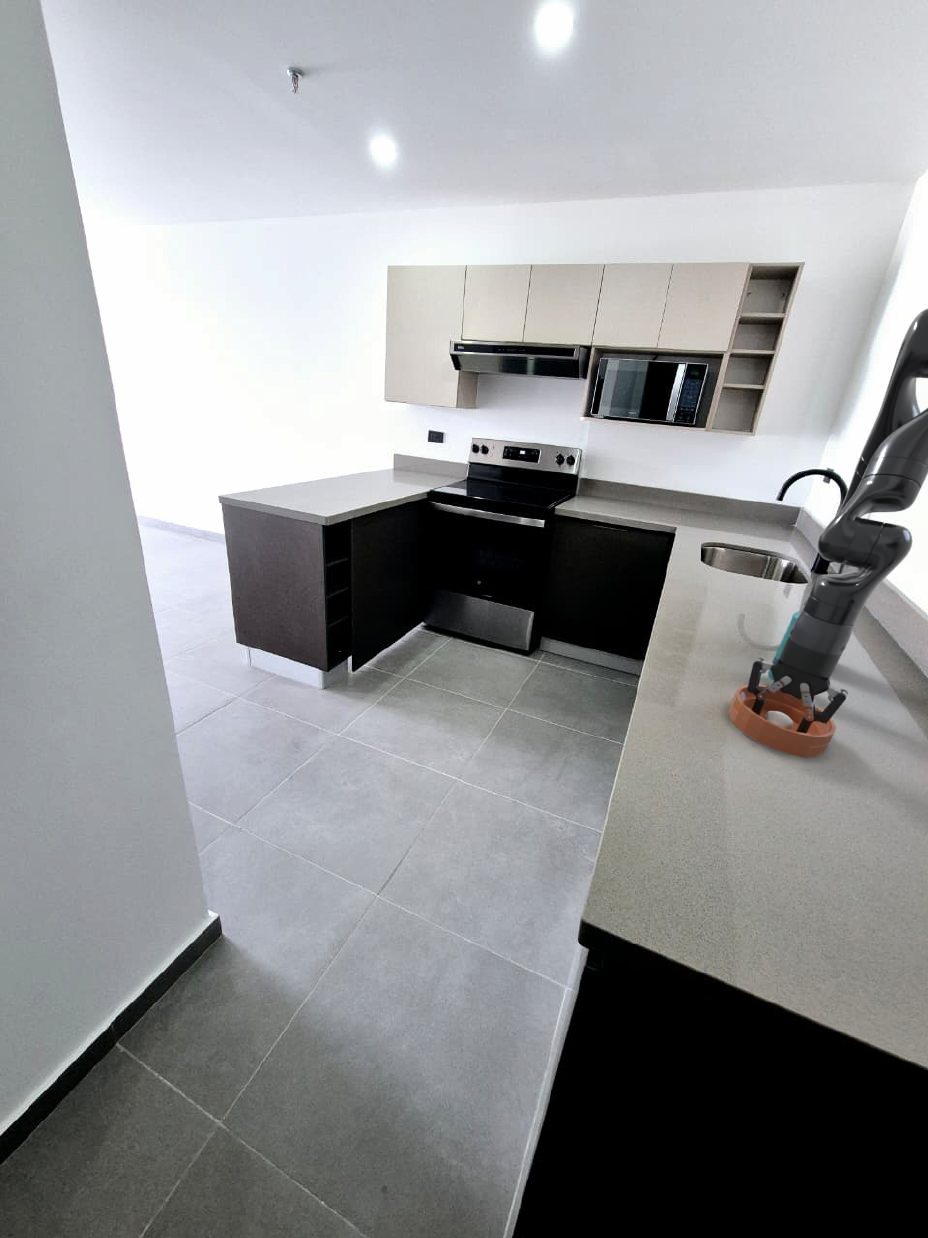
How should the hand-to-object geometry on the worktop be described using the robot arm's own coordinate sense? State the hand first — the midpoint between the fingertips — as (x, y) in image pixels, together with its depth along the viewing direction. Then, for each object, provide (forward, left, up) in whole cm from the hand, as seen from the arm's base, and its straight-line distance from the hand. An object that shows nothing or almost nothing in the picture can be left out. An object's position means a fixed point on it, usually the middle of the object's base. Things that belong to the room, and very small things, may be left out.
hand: (776, 725), depth 85 cm
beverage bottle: (-20, -3, -1) cm, 20 cm away
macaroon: (0, 0, -1) cm, 1 cm away
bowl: (0, 0, -1) cm, 1 cm away
